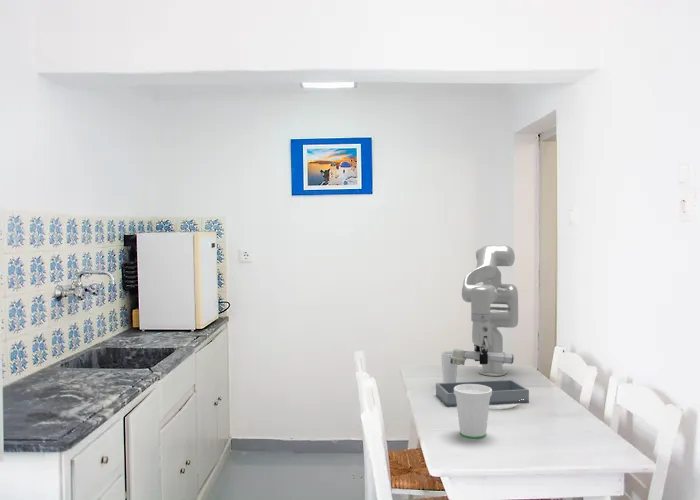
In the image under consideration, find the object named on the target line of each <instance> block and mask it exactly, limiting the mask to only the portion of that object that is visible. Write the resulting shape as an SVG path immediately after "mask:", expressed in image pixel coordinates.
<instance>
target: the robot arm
mask: <svg viewBox="0 0 700 500" xmlns="http://www.w3.org/2000/svg"><path fill="white" fill-rule="evenodd" d="M515 256H516V255H515V251H514V249H513V248H512V247H511V246H509V245H505V244H504V245H500V244H499V245H485V246H482V247H481V248H478V249H477V250H476V252H475V259H476V267H475V268H474V269H472V270H471V271H469V273H468V274H467V275H465V277H464V279H463V283H462V288H461V298H462V300H463V302H466V303H470V307H471V308H470V311H471V313H470V316H471V317H470V322H472V327H471V328H472V331H471V332H472V333H471V339H472V343H473V344H474V345H473V346H474V347H473V348H474V351H475V352H480V360H474V362H479V365H481V366H482V367H481V368H480V369H479V370H478V373H479V374H481V375H482V376H488V377H502V376H506V374H507V370H505V369H504V364H503V363H499V362H491V361H488V352H492V353H503V349H504V348H503V346H504V345H503V343H504V342H503V334H502V333H501V331H500V330H499V329H498V328H507V329H512V328H516V327H517V326H518V323H519V293H518V292H519V291H518V287H517V286H515V285H514V284H511V283H502V272H501V270H500V268H499V267H512V266H513V264H514V262H515V259H516V257H515ZM480 283H482V284H480ZM491 305H506V306H507V307H505V306H491Z"/></svg>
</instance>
